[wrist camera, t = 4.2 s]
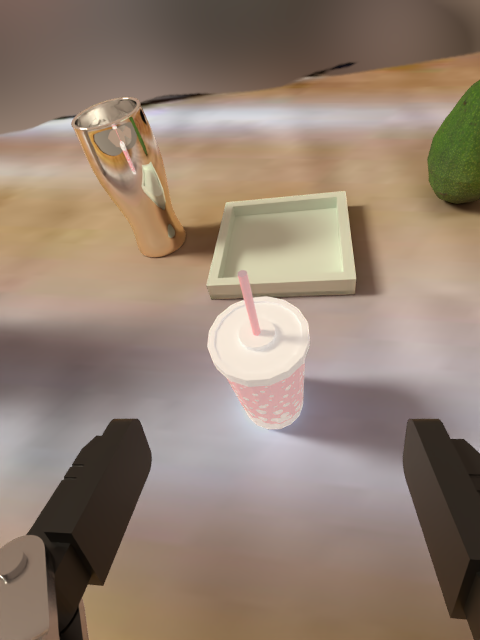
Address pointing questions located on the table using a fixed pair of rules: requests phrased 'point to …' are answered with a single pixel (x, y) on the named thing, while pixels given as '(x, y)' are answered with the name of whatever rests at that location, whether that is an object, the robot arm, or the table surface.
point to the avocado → (458, 152)
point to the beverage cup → (262, 355)
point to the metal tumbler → (131, 171)
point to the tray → (284, 247)
